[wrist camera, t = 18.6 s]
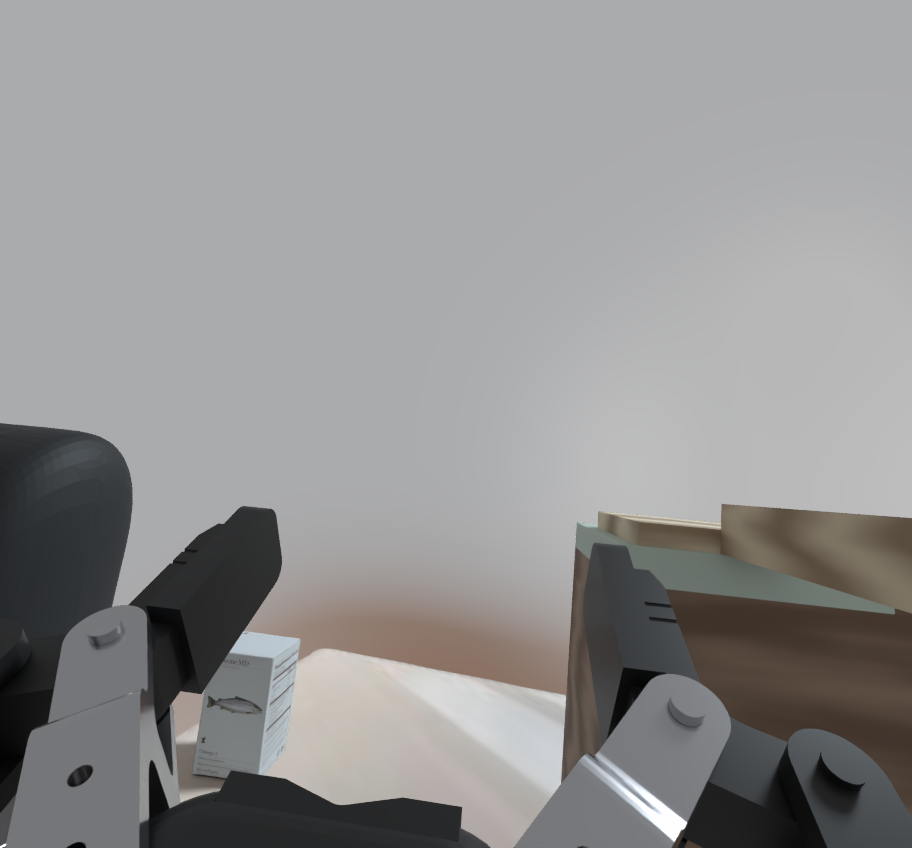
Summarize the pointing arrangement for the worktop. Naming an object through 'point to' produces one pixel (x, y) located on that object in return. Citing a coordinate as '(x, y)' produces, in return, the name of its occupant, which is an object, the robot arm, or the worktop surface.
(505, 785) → the worktop surface
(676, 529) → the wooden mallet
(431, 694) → the worktop surface
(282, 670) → the supplement box
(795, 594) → the walnut stand
